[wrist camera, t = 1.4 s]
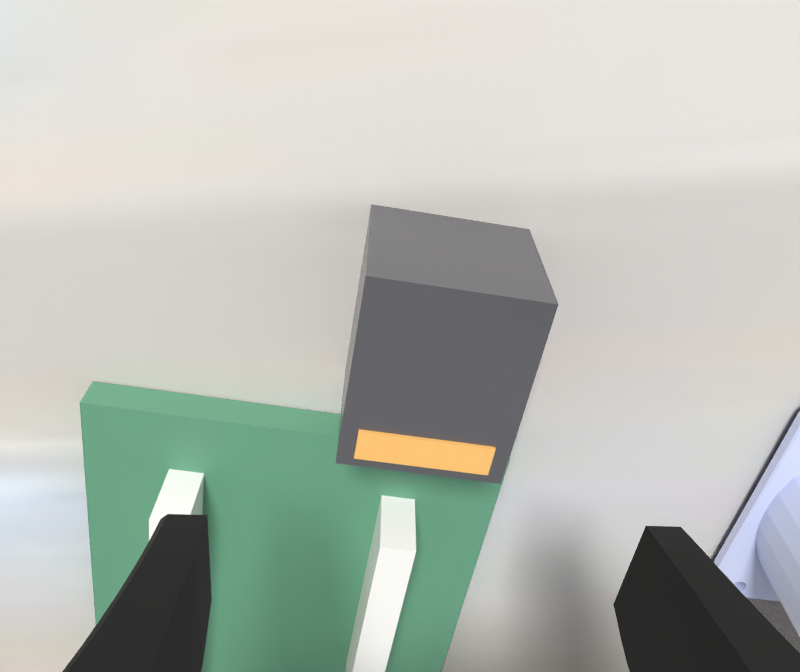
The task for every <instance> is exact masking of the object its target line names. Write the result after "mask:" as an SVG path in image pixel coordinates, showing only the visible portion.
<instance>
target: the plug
mask: <svg viewBox="0 0 800 672" xmlns="http://www.w3.org/2000/svg"><path fill="white" fill-rule="evenodd" d="M557 307H558V302H557V300H556V297H555V295H554V292H553V289H552V287H551V284H550V282H549V279H548V277H547V274H546V271H545V269H544V266H543V264H542V261H541V259H540V256H539V253H538V251H537V248H536V246H535V243H534V241H533V238H532V235H531V233H530V230H529V229H523V228H517V227H511V226H504V225H498V224H492V223H485V222H479V221H473V220H466V219H460V218H454V217H447V216H441V215H435V214H428V213H422V212H416V211H409V210H403V209H397V208H390V207H384V206H378V205H371V210H370V217H369V223H368V230H367V236H366V242H365V249H364V255H363V262H362V268H361V275H360V281H359V287H358V294H357V300H356V307H355V313H354V319H353V326H352V332H351V339H350V345H349V352H348V358H347V364H346V371H345V380H344V390H343V399H342V408H341V417H340V427H339V436H338V445H337V454H336V463H337V464H345V465H353V466H361V467H369V468H377V469H385V470H393V471H401V472H409V473H417V474H425V475H433V476H441V477H449V478H457V479H465V480H473V481H481V482H489V483H497V484H501V482H502V479H503V476H504V472H505V469H506V466H507V463H508V460H509V457H510V454H511V451H512V447H513V444H514V441H515V438H516V435H517V432H518V429H519V426H520V422H521V419H522V416H523V413H524V410H525V407H526V404H527V400H528V397H529V394H530V391H531V388H532V385H533V382H534V379H535V375H536V372H537V369H538V366H539V363H540V360H541V357H542V354H543V350H544V347H545V344H546V341H547V338H548V335H549V332H550V329H551V325H552V322H553V319H554V316H555V313H556V310H557Z"/></svg>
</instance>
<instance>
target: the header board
mask: <svg viewBox="0 0 800 672" xmlns="http://www.w3.org/2000/svg"><path fill="white" fill-rule="evenodd" d="M80 413H81V426H82V440H83V454H84V468H85V481H86V495H87V509H88V523H89V537H90V550H91V564H92V578H93V592H94V605H95V619H96V625H97V623H98V622H99V620H100V619H101V617H102V616H103V614H104V613H105V611H106V610H107V609H108V607H109V606H110V604H111V603H112V601H113V600H114V598H115V597H116V595H117V594H118V592H119V591H120V589H121V587H122V586H123V584H124V583H125V581H126V579H127V578H128V576H129V575H130V573H131V571H132V570H133V568H134V566H135V565H136V563H137V561H138V560H139V558H140V556H141V555H142V553H143V551H144V549H145V548H146V546H147V544H148V542H149V540H150V539H151V537H152V535H153V533H154V531H155V529H156V527H157V525H158V523H159V521H160V519H161V518H163V517H164V516H165V515H167V514H187V515H207V519H208V538H209V557H210V576H211V595H212V600H211V608H210V615H209V623H208V630H207V638H206V645H205V652H204V659H203V665H202V669H201V672H441V670H442V667H443V664H444V661H445V658H446V654H447V651H448V648H449V645H450V642H451V639H452V636H453V633H454V630H455V627H456V624H457V621H458V617H459V614H460V611H461V608H462V605H463V602H464V599H465V596H466V593H467V590H468V587H469V584H470V580H471V577H472V574H473V571H474V568H475V565H476V562H477V559H478V556H479V553H480V550H481V547H482V543H483V540H484V537H485V534H486V531H487V528H488V525H489V522H490V519H491V516H492V513H493V510H494V506H495V503H496V500H497V497H498V494H499V491H500V488H501V485H502V482H503V479H504V476H505V473H506V469H507V466H508V463H509V460H510V457H509V460H508V463H507V466H506V469H505V472H504V476H503V479H502V482H501V484H497V483H489V482H481V481H473V480H465V479H457V478H449V477H441V476H433V475H425V474H417V473H409V472H401V471H393V470H385V469H377V468H369V467H361V466H353V465H345V464H337V463H336V454H337V445H338V436H339V427H340V417H341V415H340V414H333V413H325V412H318V411H310V410H303V409H295V408H288V407H281V406H273V405H266V404H258V403H251V402H243V401H236V400H228V399H221V398H213V397H206V396H198V395H191V394H183V393H176V392H168V391H161V390H153V389H146V388H138V387H131V386H123V385H116V384H108V383H101V382H92V384H91V385H90V387H89V389H88V390H87V392H86V393H85V395H84V397H83V398H82V400H81V401H80Z"/></svg>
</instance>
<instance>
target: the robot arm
mask: <svg viewBox="0 0 800 672" xmlns="http://www.w3.org/2000/svg"><path fill="white" fill-rule="evenodd" d="M747 598H753V599H762V600H770V601H779V602H781V604H782V606H783V608H784V610H785V611H786V613H787V615H788V617H789V619H790V621H791V623H792V625H793V626H794V628H795V630H796V632H797V634H798V636H799V638H800V411H799V413H798V414H797V416H796V418H795V420H794V421H793V423H792V425H791V427H790V428H789V430H788V432H787V434H786V435H785V437H784V439H783V441H782V442H781V444H780V446H779V448H778V449H777V451H776V453H775V455H774V457H773V458H772V460H771V462H770V464H769V465H768V467H767V469H766V471H765V472H764V474H763V476H762V478H761V479H760V481H759V483H758V485H757V486H756V488H755V490H754V492H753V493H752V495H751V497H750V499H749V500H748V502H747V504H746V506H745V507H744V509H743V511H742V513H741V515H740V516H739V518H738V520H737V522H736V523H735V525H734V527H733V529H732V530H731V532H730V534H729V536H728V537H727V539H726V541H725V543H724V544H723V546H722V548H721V550H720V551H719V553H718V555H717V557H716V558H715V560H714V562H713V561H712V560H711V559H710V558H709V557H708V556H707V555H706V553H705V552H704V551H703V550H702V549H701V548H700V547H699V546H698V545H697V544H696V543H695V542H694V541H693V539H692V538H691V537H690V536H689V535H688V534H687V533H686V532H685V531H684V530H683V529H682V528H681V527H663V526H646V527H645V530H644V532H643V534H642V537H641V539H640V542H639V544H638V547H637V549H636V551H635V554H634V556H633V559H632V561H631V563H630V566H629V568H628V571H627V573H626V575H625V578H624V580H623V583H622V585H621V588H620V590H619V592H618V595H617V597H616V600H615V602H614V608H615V613H616V617H617V622H618V627H619V631H620V636H621V640H622V644H623V648H624V652H625V656H626V660H627V664H628V667H629V670H630V672H800V653H799V652H798V651H797V650H796V649H795V648H794V647H793V646H792V645H791V644H790V643H789V642H788V641H787V640H786V639H785V638H784V637H783V636H782V635H781V634H780V633H779V632H778V631H777V630H776V629H775V628H774V627H773V626H772V625H771V623H770V622H769V621H768V620H767V619H766V618H765V617H764V616H763V615H762V614H761V613H760V612H759V611H758V610H757V609H756V608H755V607H754V606H753V604H752V603H751V602H750V601H749V600H748V599H747ZM211 600H212V595H211V576H210V557H209V538H208V519H207V515H187V514H167V515H165V516H164V517H163V518H161V519H160V521H159V523H158V525H157V527H156V529H155V531H154V533H153V535H152V537H151V539H150V540H149V542H148V544H147V546H146V548H145V549H144V551H143V553H142V555H141V556H140V558H139V560H138V561H137V563H136V565H135V566H134V568H133V570H132V571H131V573H130V575H129V576H128V578H127V579H126V581H125V583H124V584H123V586H122V587H121V589H120V591H119V592H118V594H117V595H116V597H115V598H114V600H113V601H112V603H111V604H110V606H109V607H108V609H107V610H106V611H105V613H104V614H103V616H102V617H101V619H100V620H99V622H98V623H97V625H96V626H95V628H94V629H93V631H92V632H91V634H90V635H89V637H88V638H87V639H86V641H85V642H84V644H83V645H82V646H81V648H80V649H79V650H78V652H77V653H76V654H75V656H74V657H73V658H72V660H71V661H70V662H69V664H68V665H67V666H66V668H65V669H64V670H63V672H201V669H202V665H203V659H204V652H205V645H206V638H207V630H208V623H209V615H210V608H211Z"/></svg>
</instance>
